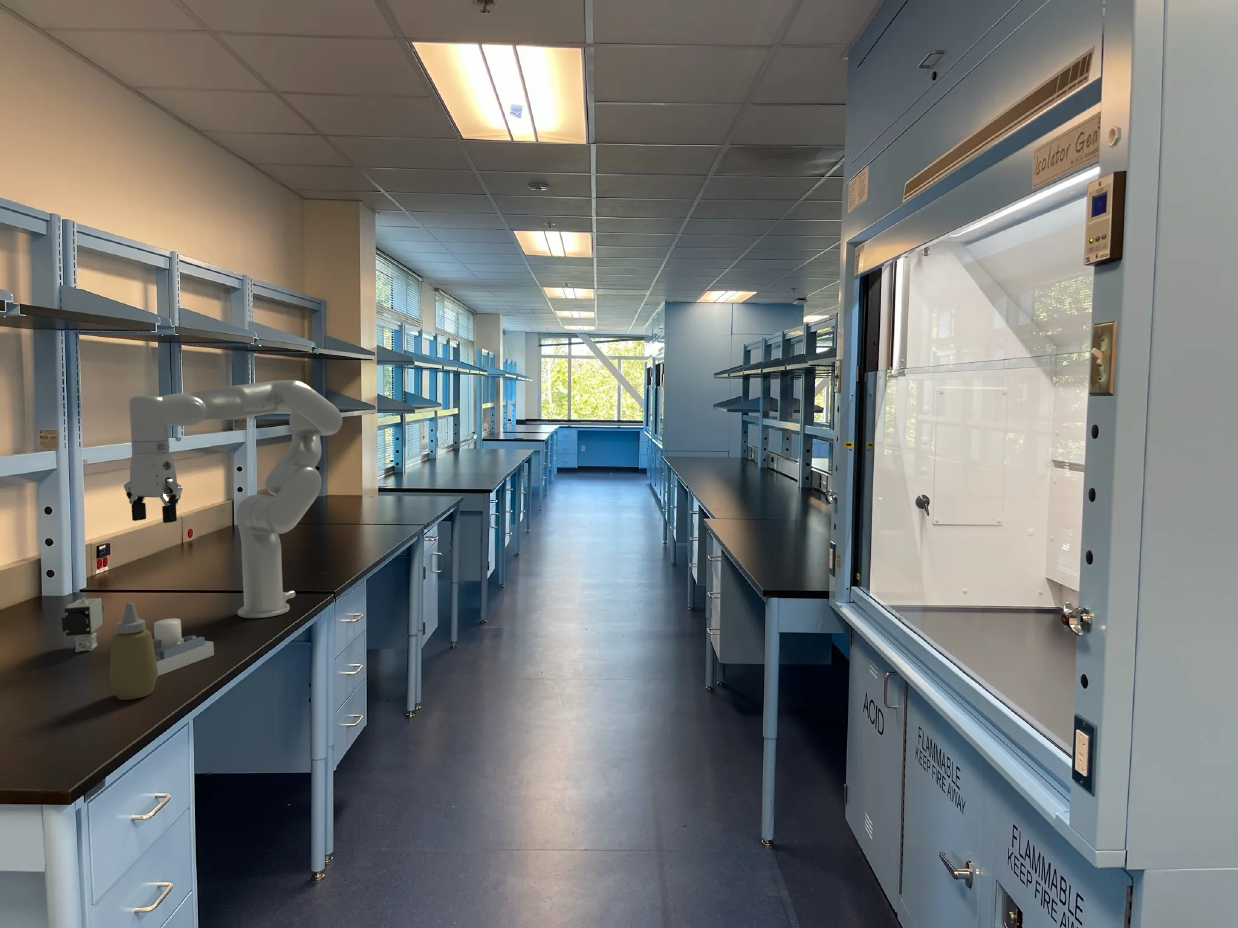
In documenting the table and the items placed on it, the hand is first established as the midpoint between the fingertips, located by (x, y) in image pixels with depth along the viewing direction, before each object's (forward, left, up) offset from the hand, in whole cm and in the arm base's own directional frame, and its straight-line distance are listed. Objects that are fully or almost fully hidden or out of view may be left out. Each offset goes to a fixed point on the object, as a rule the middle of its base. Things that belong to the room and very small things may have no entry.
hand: (154, 521), depth 182 cm
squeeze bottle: (+28, +27, -28) cm, 48 cm away
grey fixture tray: (+12, +17, -28) cm, 35 cm away
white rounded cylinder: (+12, +17, -25) cm, 33 cm away
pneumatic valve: (+12, -9, -28) cm, 32 cm away
